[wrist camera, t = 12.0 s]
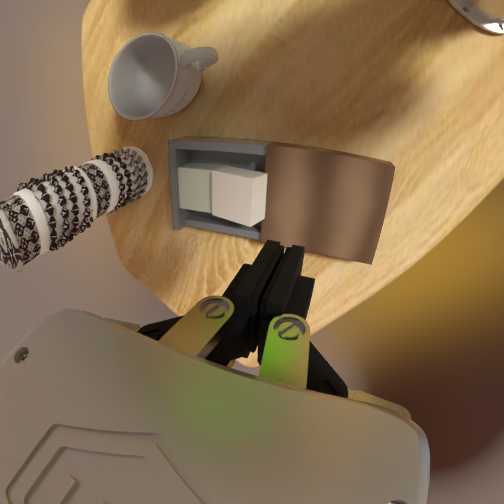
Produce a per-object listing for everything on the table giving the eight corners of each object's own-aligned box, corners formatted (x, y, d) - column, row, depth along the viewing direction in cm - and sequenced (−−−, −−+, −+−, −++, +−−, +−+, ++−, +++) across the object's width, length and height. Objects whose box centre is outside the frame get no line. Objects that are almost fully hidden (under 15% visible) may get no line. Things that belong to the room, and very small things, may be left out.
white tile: (267, 173, 30) (252, 178, 28) (264, 218, 33) (250, 227, 30) (228, 165, 32) (212, 170, 30) (227, 207, 35) (212, 214, 33)
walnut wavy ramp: (390, 162, 27) (395, 167, 25) (370, 252, 33) (371, 264, 31) (273, 141, 31) (266, 144, 28) (266, 231, 37) (260, 241, 34)
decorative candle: (136, 131, 36) (-19, 186, 15) (165, 181, 38) (19, 270, 18) (105, 163, 40) (-22, 225, 19) (131, 208, 43) (10, 290, 22)
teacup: (146, 118, 34) (106, 125, 28) (145, 49, 29) (106, 45, 22) (235, 113, 30) (205, 116, 24) (237, 33, 25) (206, 16, 18)
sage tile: (227, 165, 33) (217, 170, 31) (227, 205, 36) (217, 214, 34) (189, 162, 35) (177, 167, 32) (191, 200, 38) (179, 208, 35)
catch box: (273, 141, 31) (264, 146, 28) (266, 231, 37) (258, 245, 34) (185, 136, 34) (168, 141, 31) (188, 217, 40) (173, 229, 37)
